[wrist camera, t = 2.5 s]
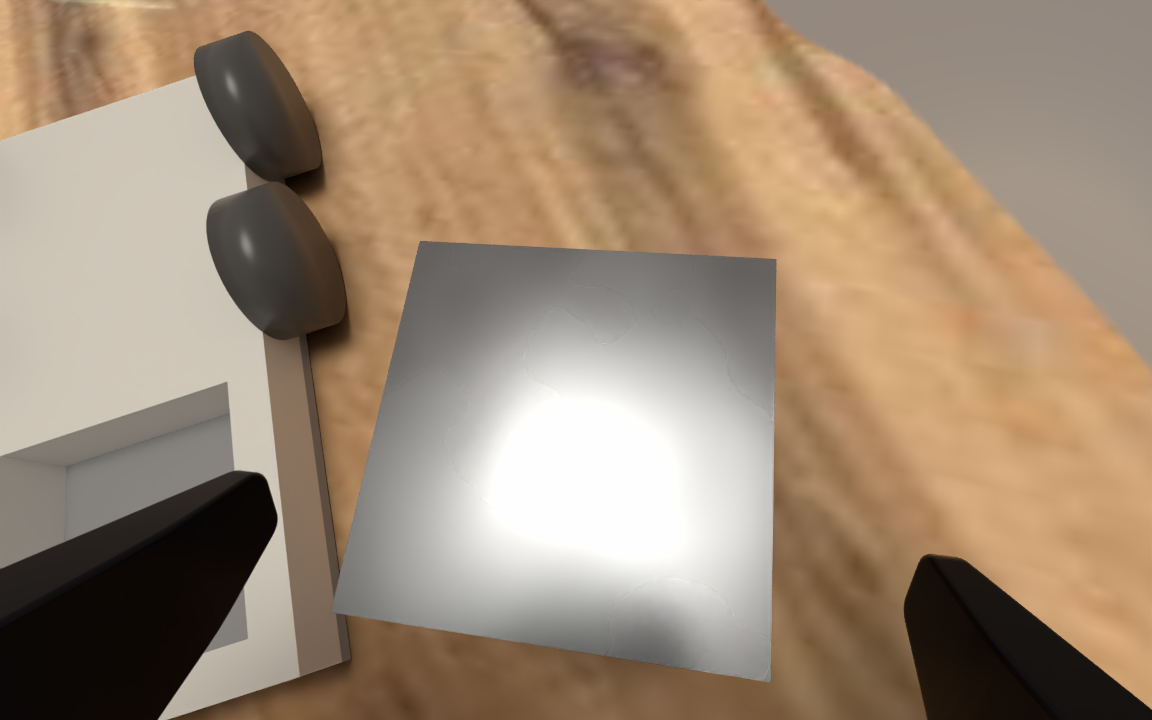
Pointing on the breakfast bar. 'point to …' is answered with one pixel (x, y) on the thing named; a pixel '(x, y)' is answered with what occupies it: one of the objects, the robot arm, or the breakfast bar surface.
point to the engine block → (577, 456)
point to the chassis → (175, 340)
